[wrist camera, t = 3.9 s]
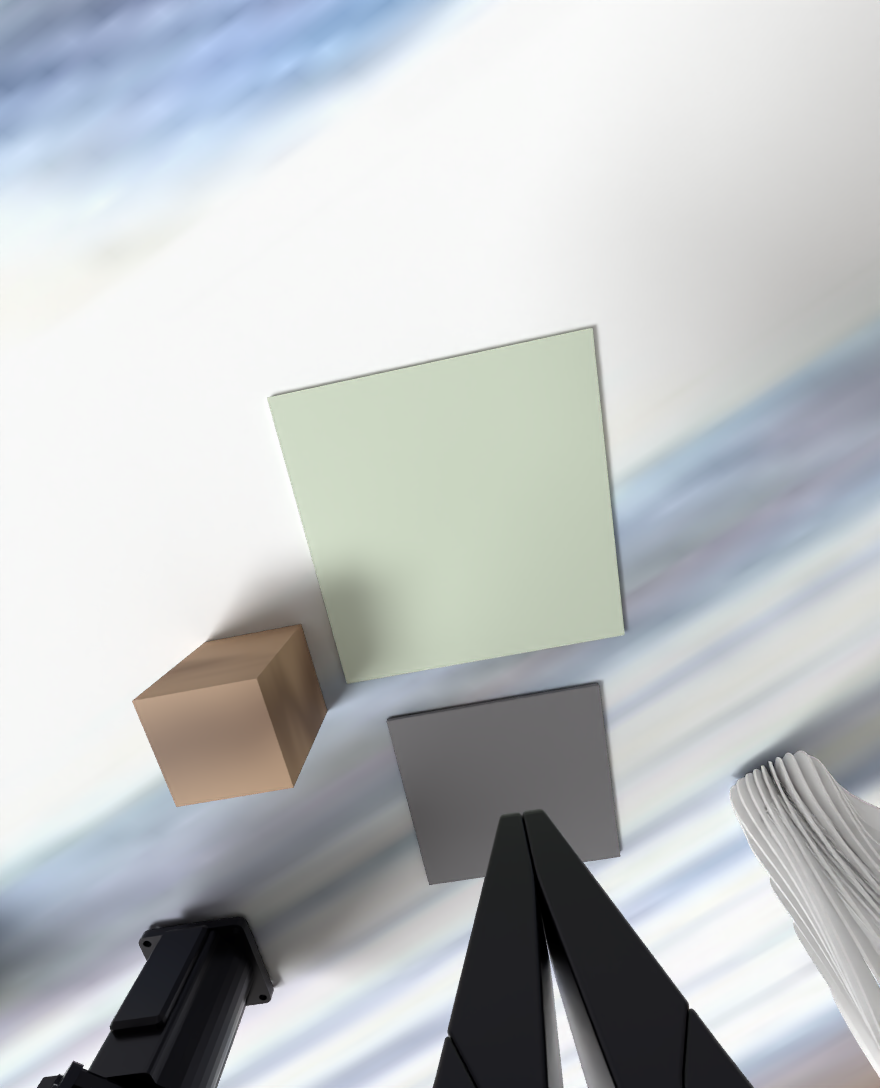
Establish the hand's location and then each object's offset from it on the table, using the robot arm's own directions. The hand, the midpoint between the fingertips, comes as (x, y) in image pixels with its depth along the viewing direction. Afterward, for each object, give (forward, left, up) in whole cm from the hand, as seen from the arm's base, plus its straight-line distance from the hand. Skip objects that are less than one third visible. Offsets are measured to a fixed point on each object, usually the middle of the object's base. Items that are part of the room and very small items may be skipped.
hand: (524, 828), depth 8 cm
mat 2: (-11, 0, -12) cm, 16 cm away
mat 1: (+4, 0, -12) cm, 13 cm away
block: (-2, +11, -12) cm, 17 cm away
